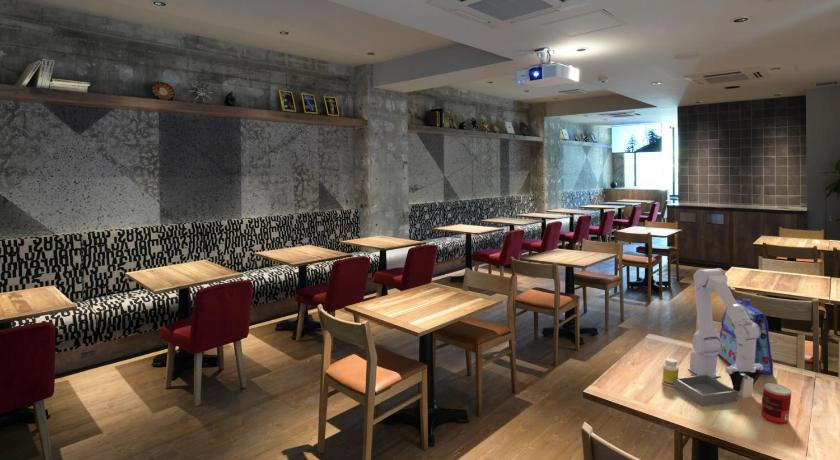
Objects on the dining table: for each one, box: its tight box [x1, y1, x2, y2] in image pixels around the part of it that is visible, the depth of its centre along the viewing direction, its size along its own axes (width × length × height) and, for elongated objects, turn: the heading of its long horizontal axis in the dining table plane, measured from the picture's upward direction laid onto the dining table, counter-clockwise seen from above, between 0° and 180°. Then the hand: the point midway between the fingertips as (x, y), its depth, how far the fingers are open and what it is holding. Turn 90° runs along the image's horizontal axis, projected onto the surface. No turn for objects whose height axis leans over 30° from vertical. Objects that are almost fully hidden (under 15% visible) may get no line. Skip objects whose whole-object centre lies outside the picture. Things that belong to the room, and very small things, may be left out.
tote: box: [673, 374, 738, 407], centre depth 183 cm, size 15×15×4 cm
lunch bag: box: [718, 298, 774, 376], centre depth 208 cm, size 22×14×29 cm, turn 172°
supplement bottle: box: [661, 357, 680, 387], centre depth 192 cm, size 5×5×10 cm
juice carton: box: [737, 373, 754, 398], centre depth 182 cm, size 5×4×8 cm
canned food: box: [760, 382, 792, 425], centre depth 165 cm, size 8×8×11 cm
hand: (742, 389), depth 183 cm, fingers open, 5 cm apart
